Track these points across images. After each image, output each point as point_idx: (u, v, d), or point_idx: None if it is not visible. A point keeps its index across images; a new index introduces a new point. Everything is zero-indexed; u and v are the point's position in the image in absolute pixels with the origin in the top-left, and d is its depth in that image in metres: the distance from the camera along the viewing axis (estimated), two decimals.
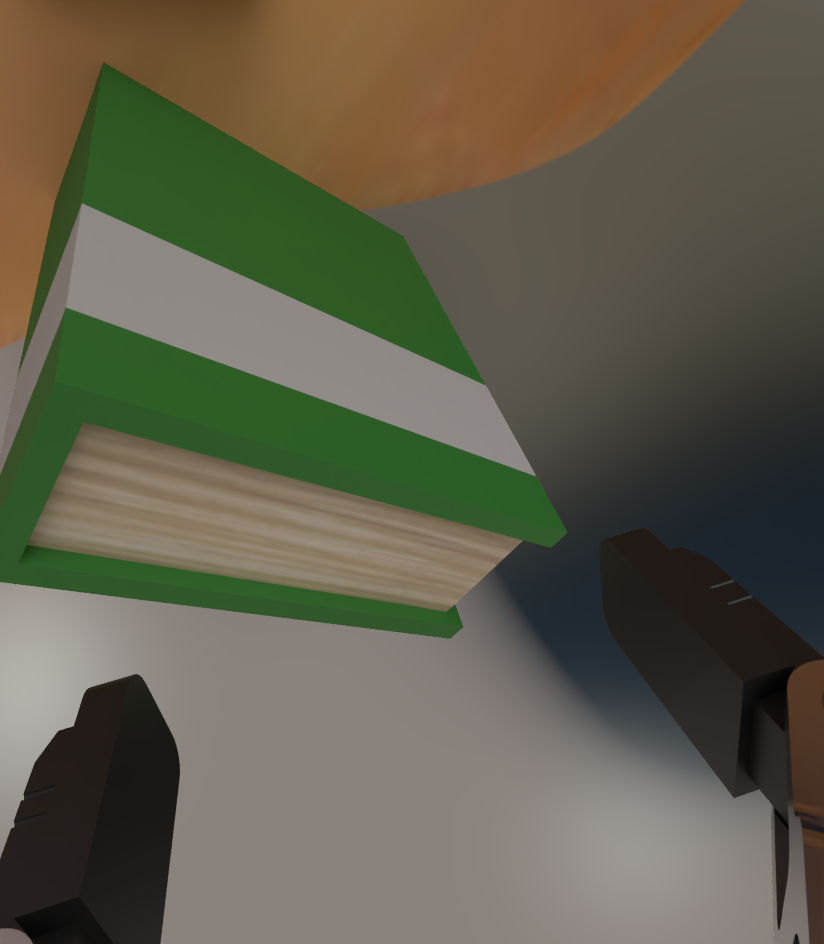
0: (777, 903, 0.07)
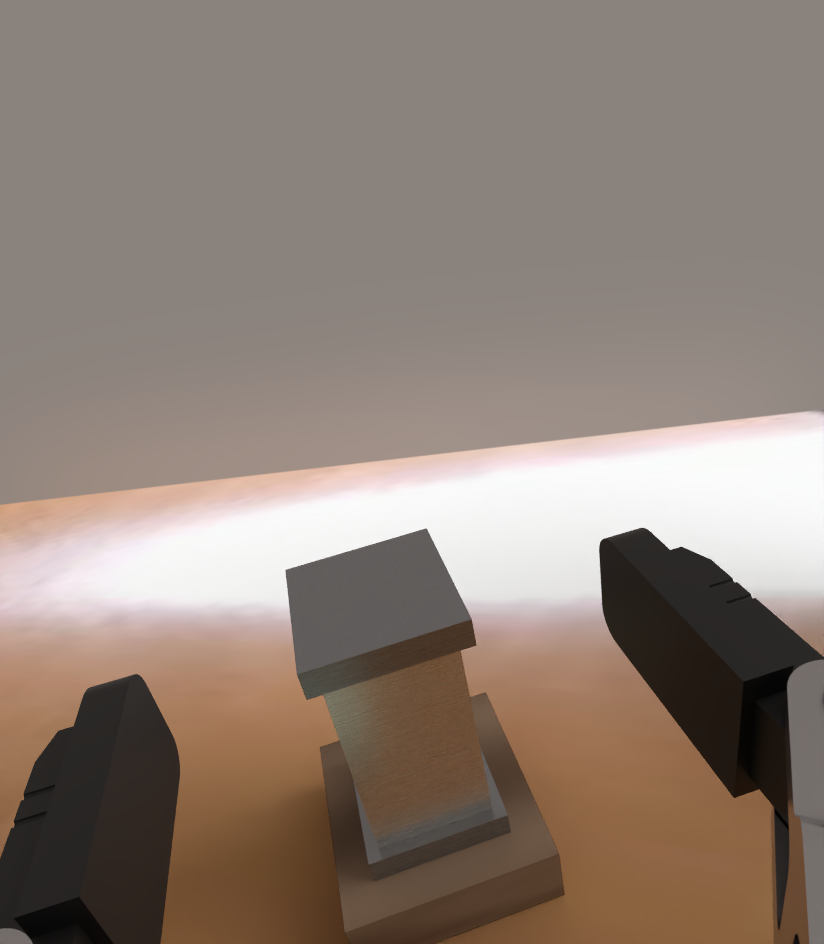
0: (777, 903, 0.07)
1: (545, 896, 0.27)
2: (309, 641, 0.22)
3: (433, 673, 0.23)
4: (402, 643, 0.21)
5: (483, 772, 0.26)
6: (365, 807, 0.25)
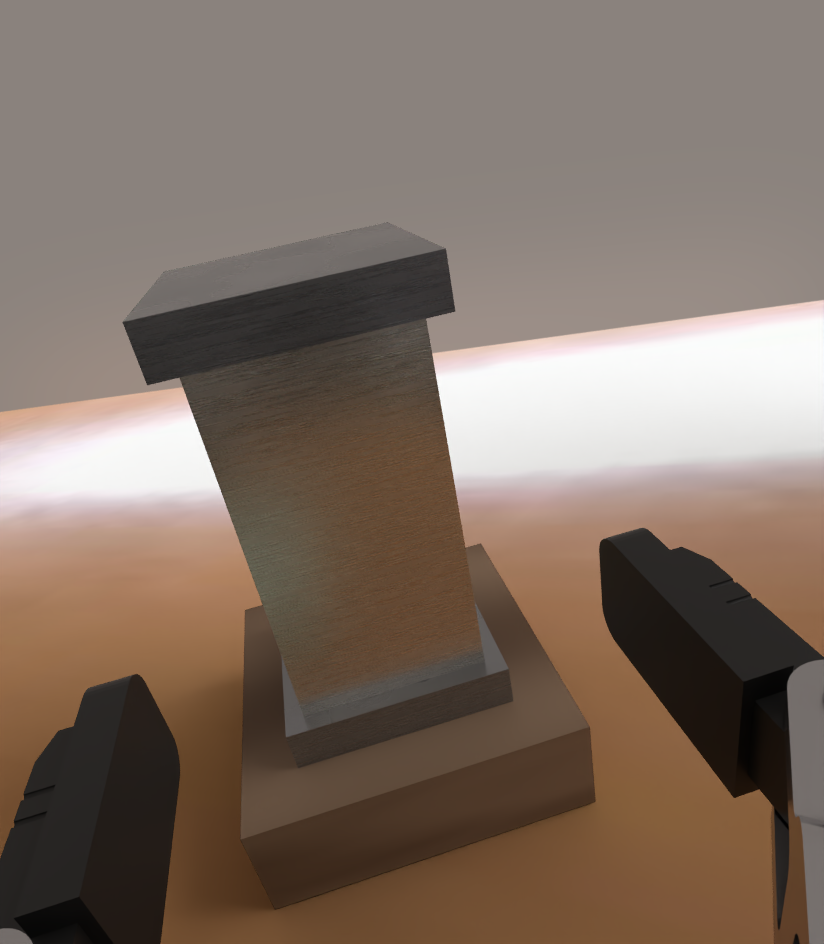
0: (777, 903, 0.07)
1: (566, 802, 0.18)
2: (162, 300, 0.13)
3: (383, 378, 0.13)
4: (319, 283, 0.12)
5: (470, 592, 0.16)
6: (277, 637, 0.16)
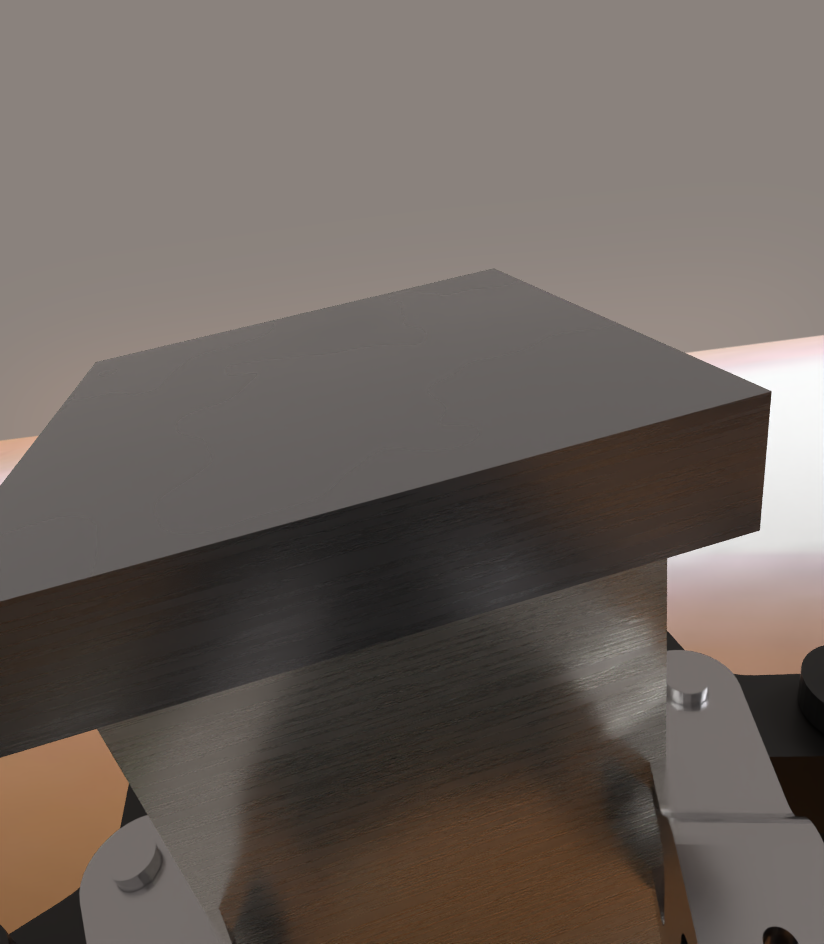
0: (657, 898, 0.08)
1: None
2: (43, 504, 0.05)
3: (557, 654, 0.06)
4: (447, 493, 0.04)
5: None
6: None
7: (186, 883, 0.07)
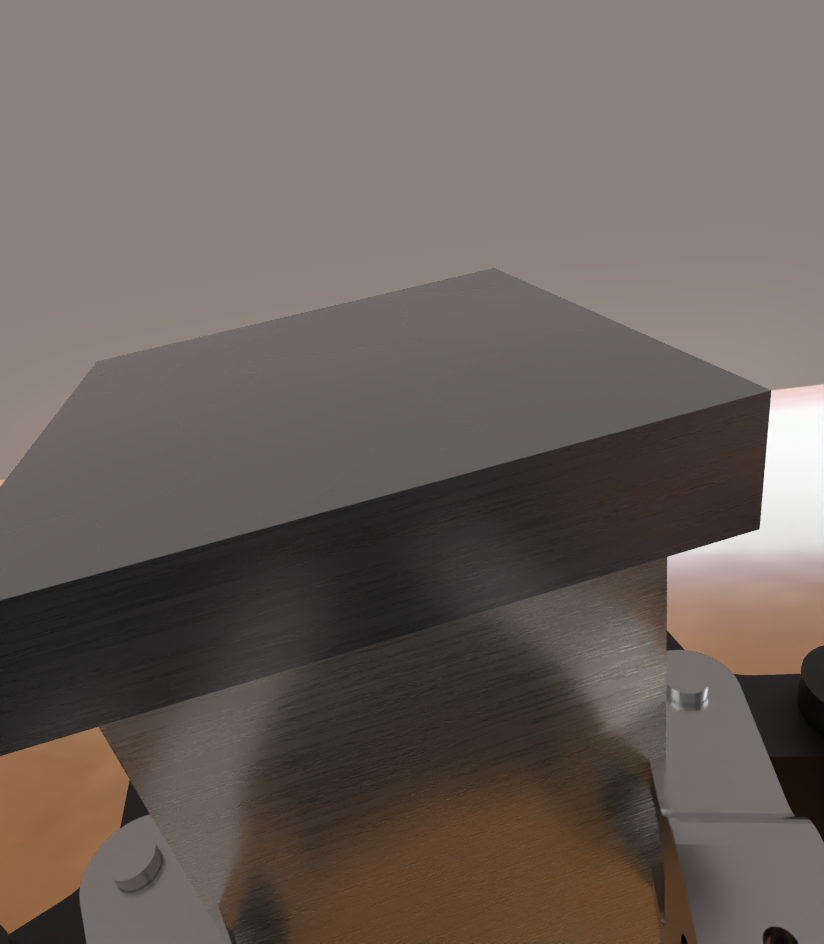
0: (657, 898, 0.08)
1: None
2: (44, 503, 0.05)
3: (557, 652, 0.06)
4: (447, 491, 0.04)
5: None
6: None
7: (186, 883, 0.07)
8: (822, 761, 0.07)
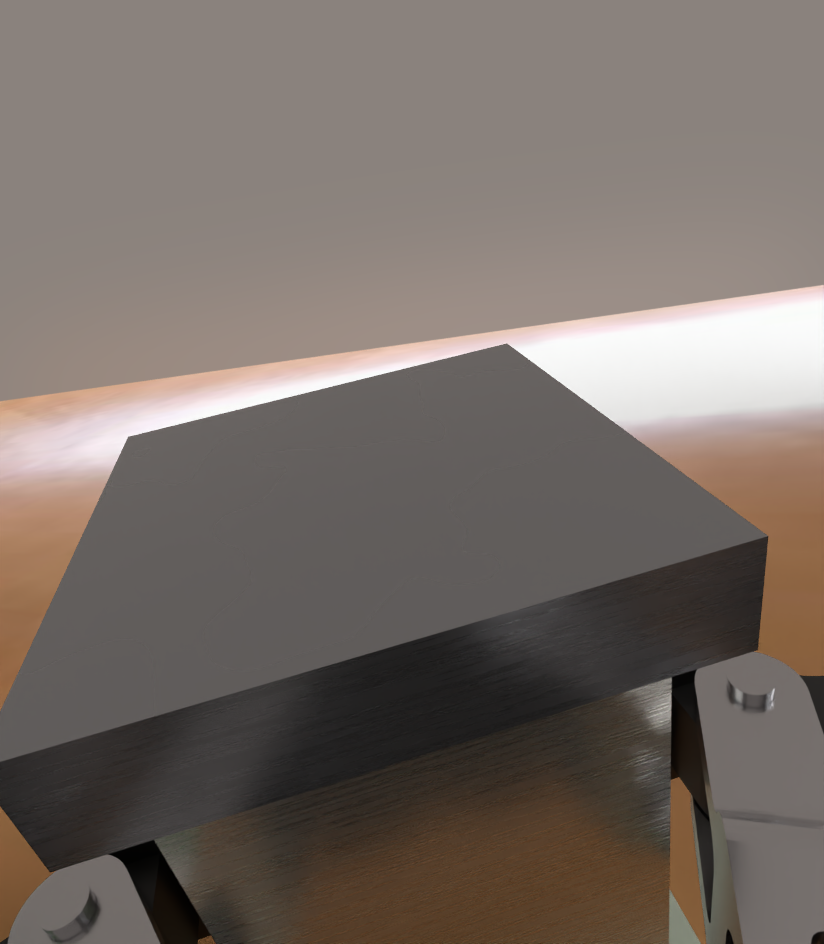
0: (705, 896, 0.07)
1: None
2: (98, 622, 0.06)
3: (568, 749, 0.06)
4: (471, 634, 0.05)
5: None
6: None
7: (118, 932, 0.06)
8: None
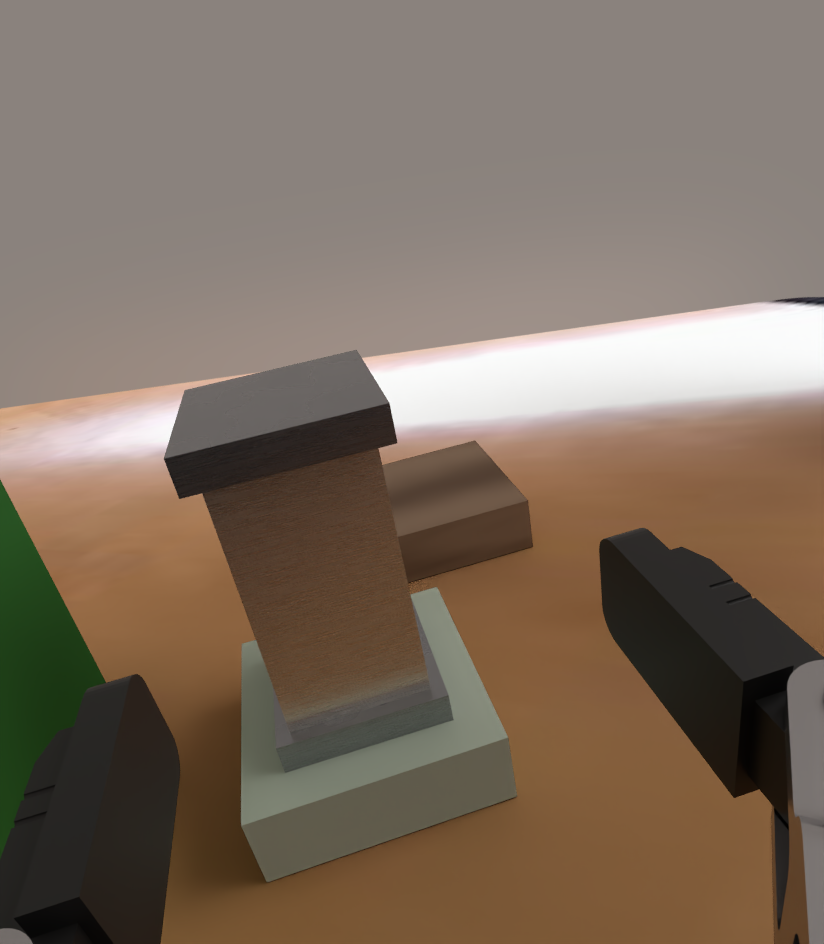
0: (777, 903, 0.07)
1: (518, 545, 0.36)
2: (189, 434, 0.18)
3: (347, 486, 0.19)
4: (300, 428, 0.17)
5: (417, 637, 0.21)
6: (270, 672, 0.21)
7: None
8: None
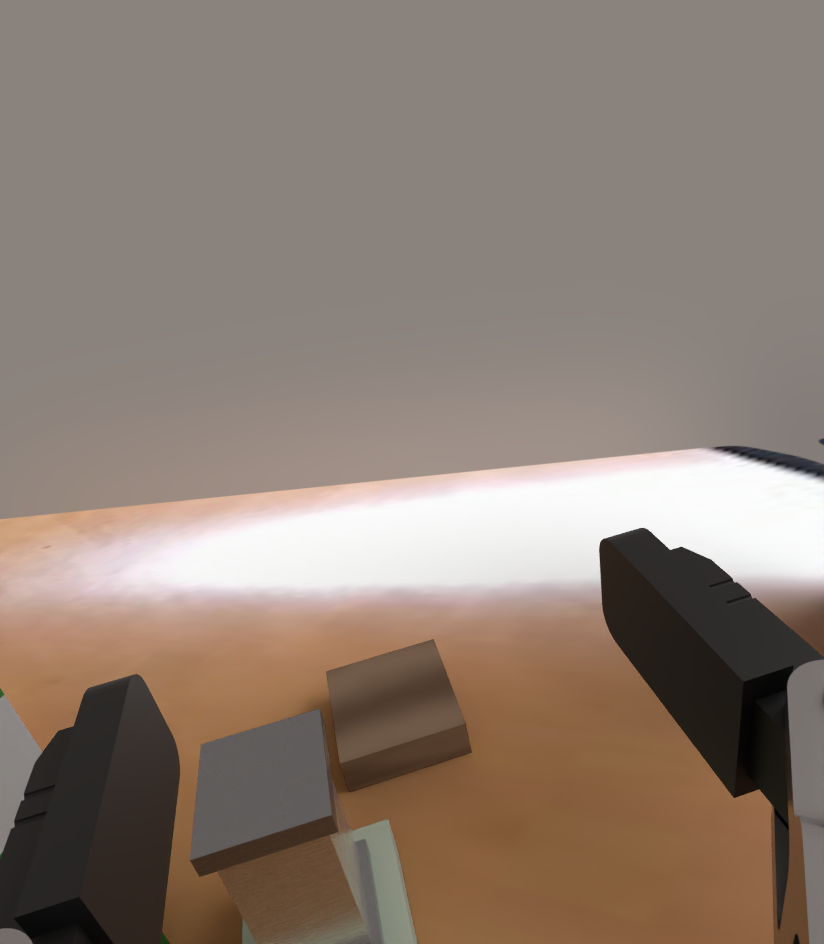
0: (777, 903, 0.07)
1: (459, 752, 0.46)
2: (205, 826, 0.28)
3: (307, 849, 0.29)
4: (275, 834, 0.27)
5: (360, 916, 0.32)
6: None
7: None
8: None
